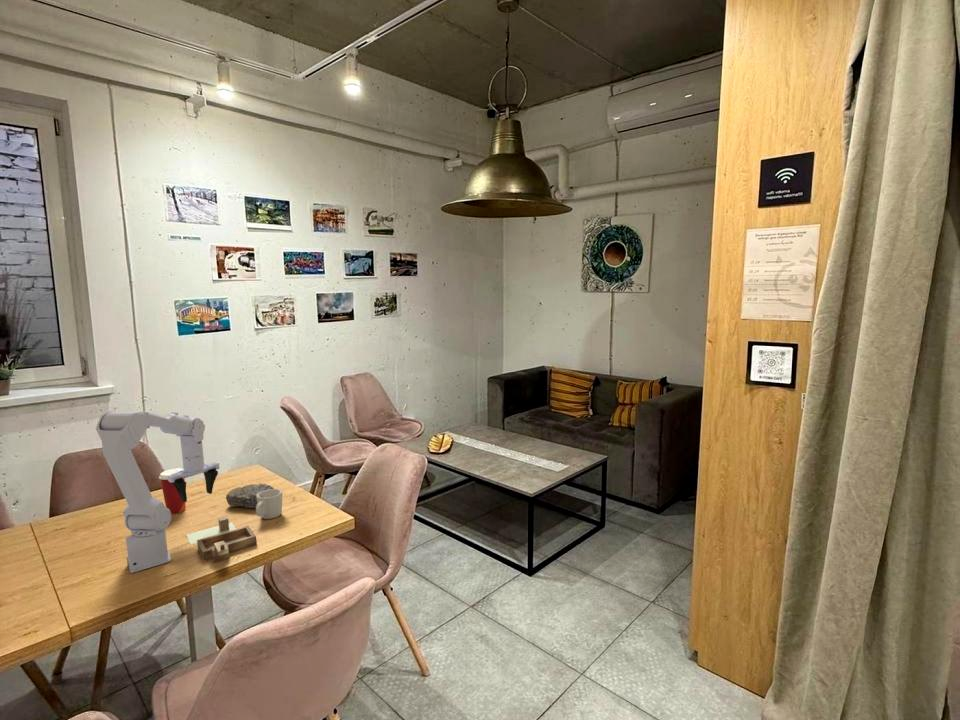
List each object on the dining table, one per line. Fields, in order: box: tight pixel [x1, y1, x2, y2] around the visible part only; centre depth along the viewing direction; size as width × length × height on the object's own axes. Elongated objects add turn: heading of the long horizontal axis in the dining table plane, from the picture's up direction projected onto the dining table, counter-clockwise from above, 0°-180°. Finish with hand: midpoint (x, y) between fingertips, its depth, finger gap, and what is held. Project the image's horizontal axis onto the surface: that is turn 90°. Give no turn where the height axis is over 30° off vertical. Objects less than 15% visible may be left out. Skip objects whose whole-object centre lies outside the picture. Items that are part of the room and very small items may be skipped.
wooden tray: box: [196, 525, 257, 564], centre depth 145 cm, size 14×12×3 cm
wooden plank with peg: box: [214, 541, 230, 556], centre depth 138 cm, size 2×6×2 cm, turn 39°
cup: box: [255, 488, 283, 520], centre depth 165 cm, size 11×8×8 cm
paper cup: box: [158, 467, 187, 515], centre depth 172 cm, size 8×8×14 cm
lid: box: [185, 516, 237, 545], centre depth 155 cm, size 13×8×4 cm, turn 129°
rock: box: [225, 483, 275, 509], centre depth 177 cm, size 13×6×15 cm
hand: (197, 497), depth 158 cm, fingers open, 7 cm apart
